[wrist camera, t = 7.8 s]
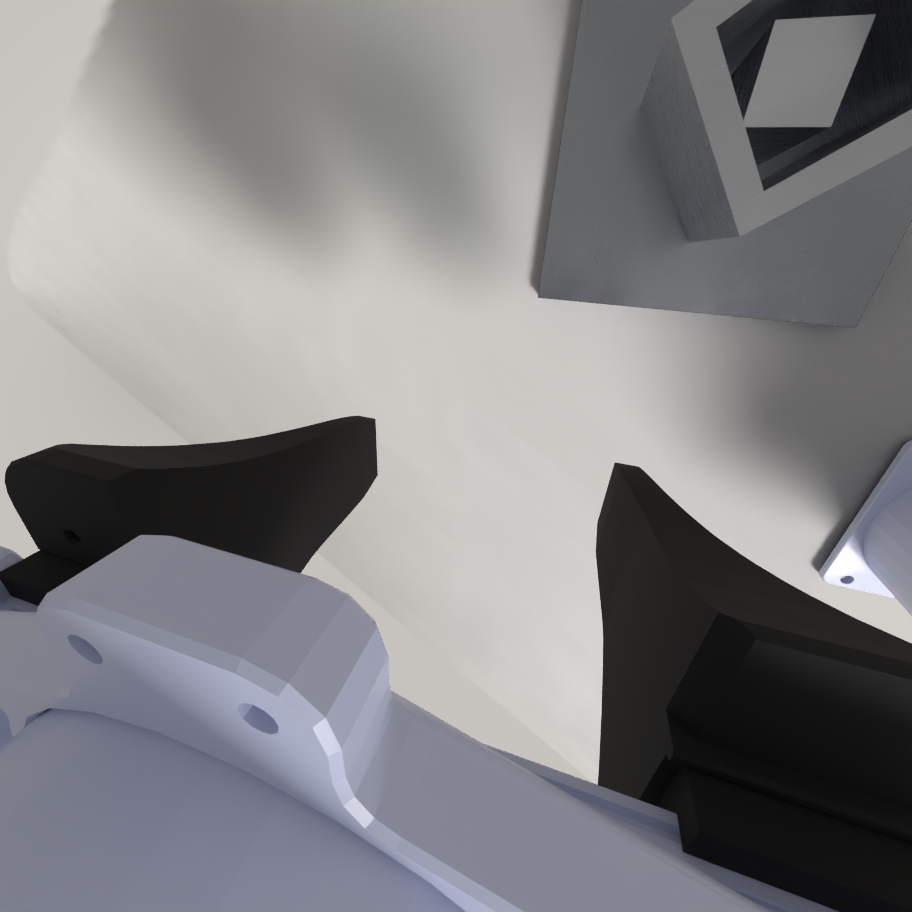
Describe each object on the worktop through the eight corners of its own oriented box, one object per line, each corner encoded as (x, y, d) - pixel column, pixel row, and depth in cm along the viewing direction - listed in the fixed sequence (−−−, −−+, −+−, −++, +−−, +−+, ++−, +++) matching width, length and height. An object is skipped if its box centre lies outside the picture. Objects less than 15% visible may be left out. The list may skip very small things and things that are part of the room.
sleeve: (814, -22, 12) (992, -239, 7) (853, 152, 13) (1028, 85, 8) (640, 105, 14) (670, 19, 9) (688, 242, 15) (739, 236, 10)
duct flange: (1094, -170, 10) (1518, -525, 5) (843, 324, 16) (948, 353, 11) (599, -105, 13) (606, -306, 8) (539, 295, 18) (523, 309, 14)
